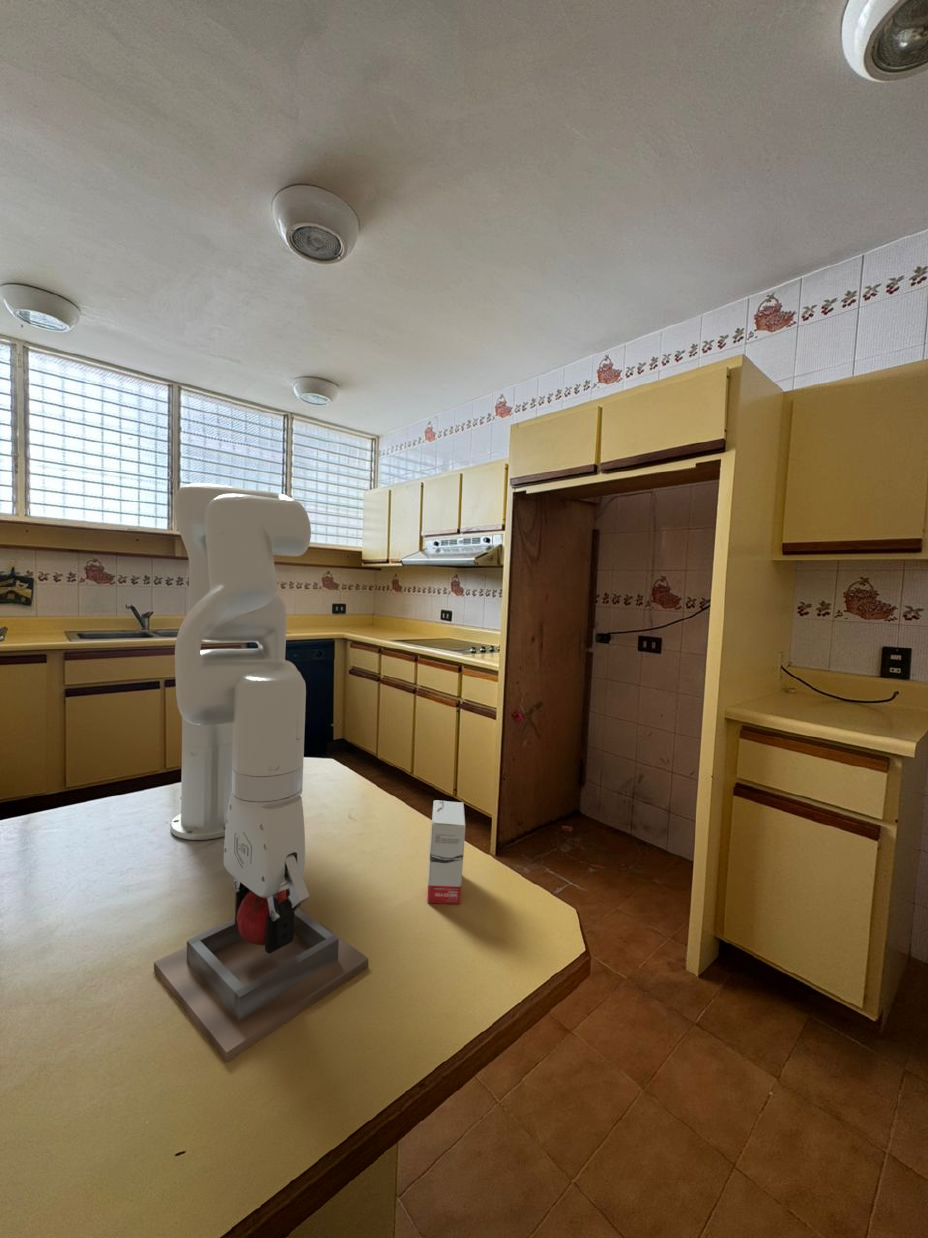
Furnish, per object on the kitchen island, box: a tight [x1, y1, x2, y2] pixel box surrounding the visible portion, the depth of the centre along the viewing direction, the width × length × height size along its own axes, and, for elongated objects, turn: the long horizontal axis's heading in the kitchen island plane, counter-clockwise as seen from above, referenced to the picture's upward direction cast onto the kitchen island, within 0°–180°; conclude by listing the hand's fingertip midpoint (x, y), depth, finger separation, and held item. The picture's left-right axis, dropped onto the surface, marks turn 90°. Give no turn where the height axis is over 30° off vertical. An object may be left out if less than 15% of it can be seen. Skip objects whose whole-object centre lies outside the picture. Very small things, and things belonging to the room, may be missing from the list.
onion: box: [237, 890, 287, 946], centre depth 61 cm, size 6×6×8 cm
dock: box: [153, 906, 369, 1063], centre depth 61 cm, size 17×17×4 cm
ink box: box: [426, 799, 466, 905], centre depth 79 cm, size 8×5×12 cm, turn 2°
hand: (263, 931), depth 61 cm, fingers closed on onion, 5 cm apart
